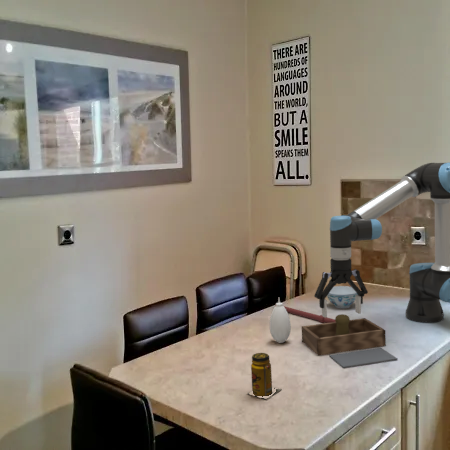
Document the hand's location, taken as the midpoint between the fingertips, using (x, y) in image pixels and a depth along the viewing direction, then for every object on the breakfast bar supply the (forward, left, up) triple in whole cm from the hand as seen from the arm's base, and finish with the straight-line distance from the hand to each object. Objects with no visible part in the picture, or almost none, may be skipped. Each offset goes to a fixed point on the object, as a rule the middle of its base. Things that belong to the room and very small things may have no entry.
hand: (341, 314), depth 199 cm
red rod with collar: (-2, -32, -12) cm, 34 cm away
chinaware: (-21, -44, -12) cm, 50 cm away
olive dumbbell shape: (0, 0, -11) cm, 11 cm away
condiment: (+40, +29, -12) cm, 50 cm away
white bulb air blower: (+21, -10, -11) cm, 26 cm away
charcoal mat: (0, +15, -11) cm, 19 cm away
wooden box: (0, 0, -11) cm, 11 cm away
